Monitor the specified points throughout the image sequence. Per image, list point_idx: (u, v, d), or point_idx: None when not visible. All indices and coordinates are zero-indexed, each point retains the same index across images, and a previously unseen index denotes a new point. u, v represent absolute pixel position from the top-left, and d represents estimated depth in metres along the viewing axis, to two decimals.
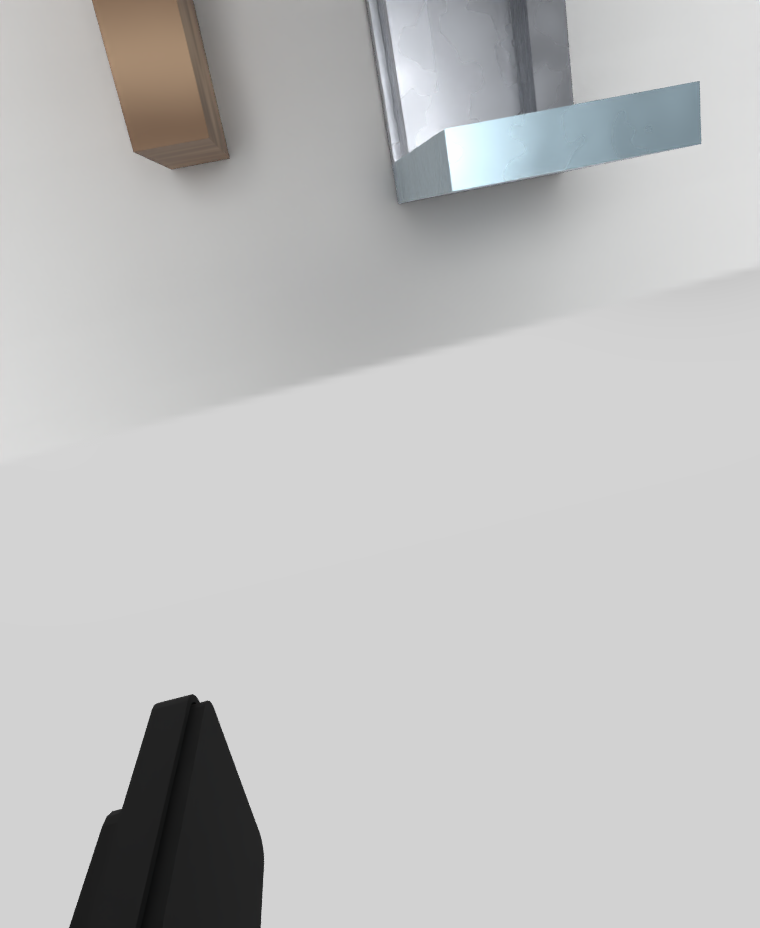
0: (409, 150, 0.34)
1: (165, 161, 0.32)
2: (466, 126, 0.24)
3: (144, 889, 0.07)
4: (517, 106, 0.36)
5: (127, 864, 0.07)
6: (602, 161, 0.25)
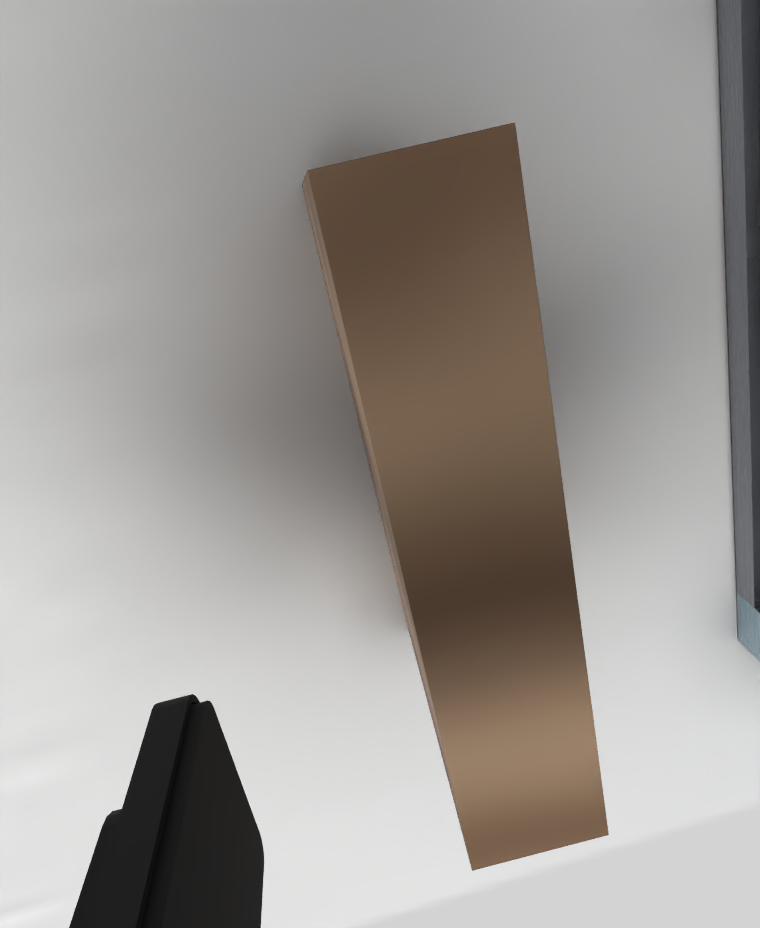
0: None
1: None
2: None
3: (145, 888, 0.07)
4: None
5: (127, 864, 0.07)
6: None
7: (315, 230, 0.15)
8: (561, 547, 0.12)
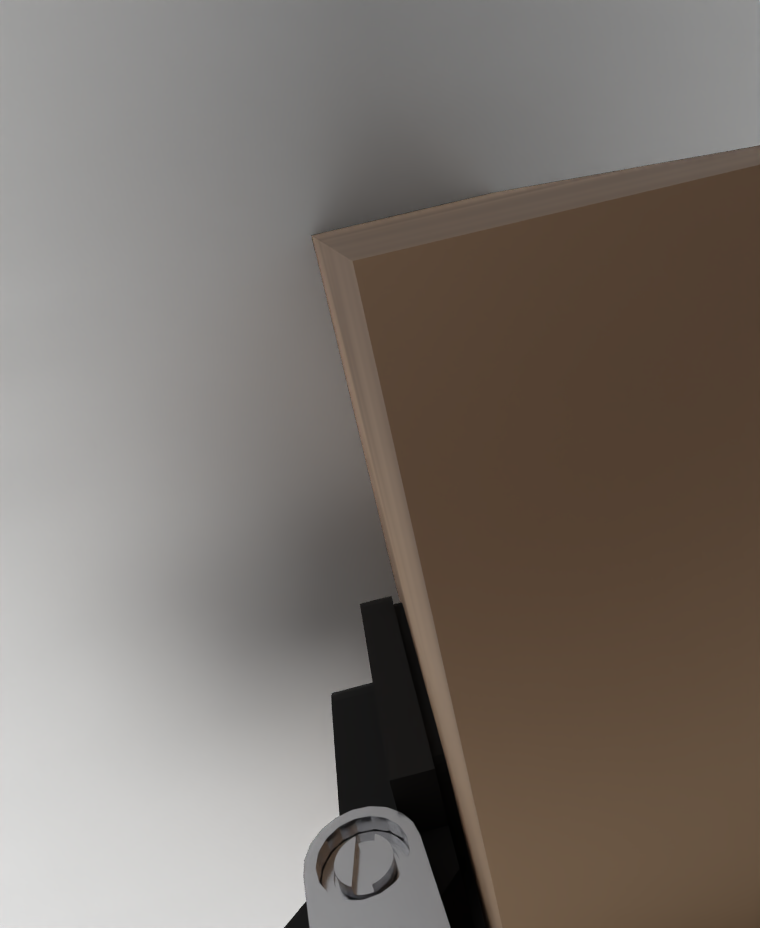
0: None
1: None
2: None
3: (423, 723, 0.08)
4: None
5: (398, 709, 0.08)
6: None
7: (339, 331, 0.08)
8: None
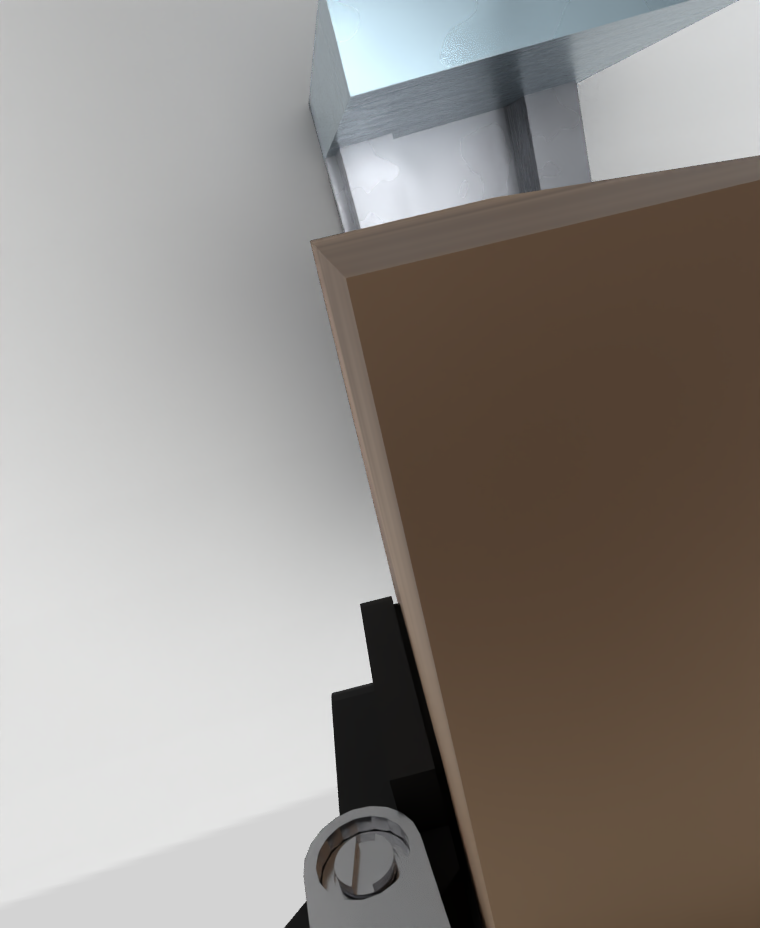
0: None
1: None
2: None
3: (423, 723, 0.08)
4: None
5: (398, 709, 0.08)
6: None
7: (337, 338, 0.08)
8: None
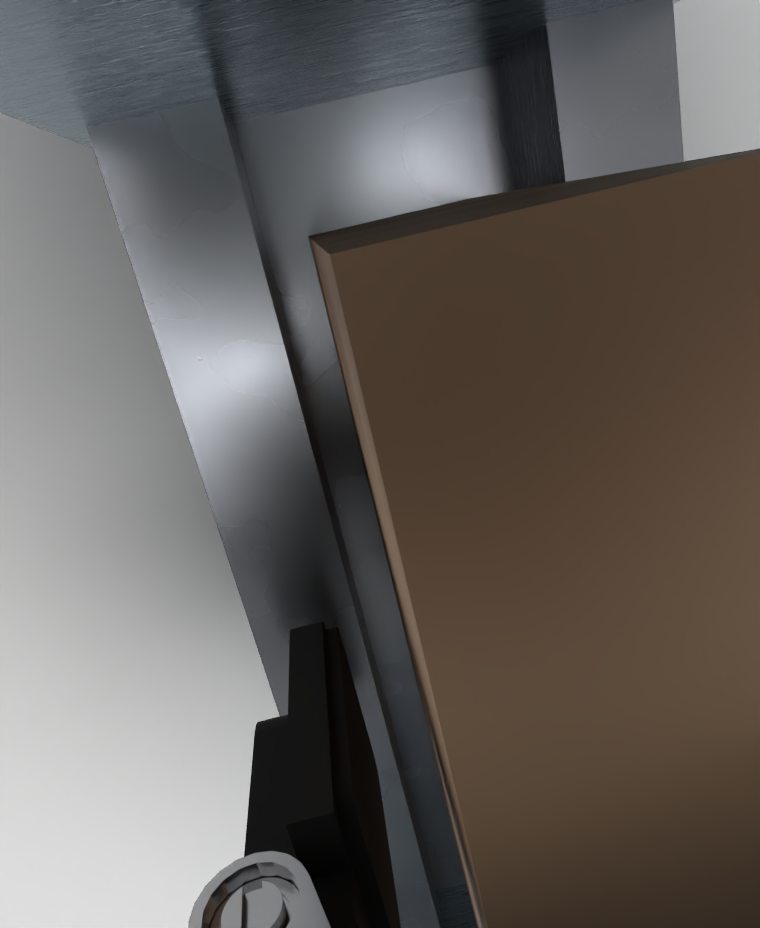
0: None
1: None
2: None
3: (329, 762, 0.08)
4: None
5: (308, 745, 0.08)
6: None
7: (331, 318, 0.09)
8: None
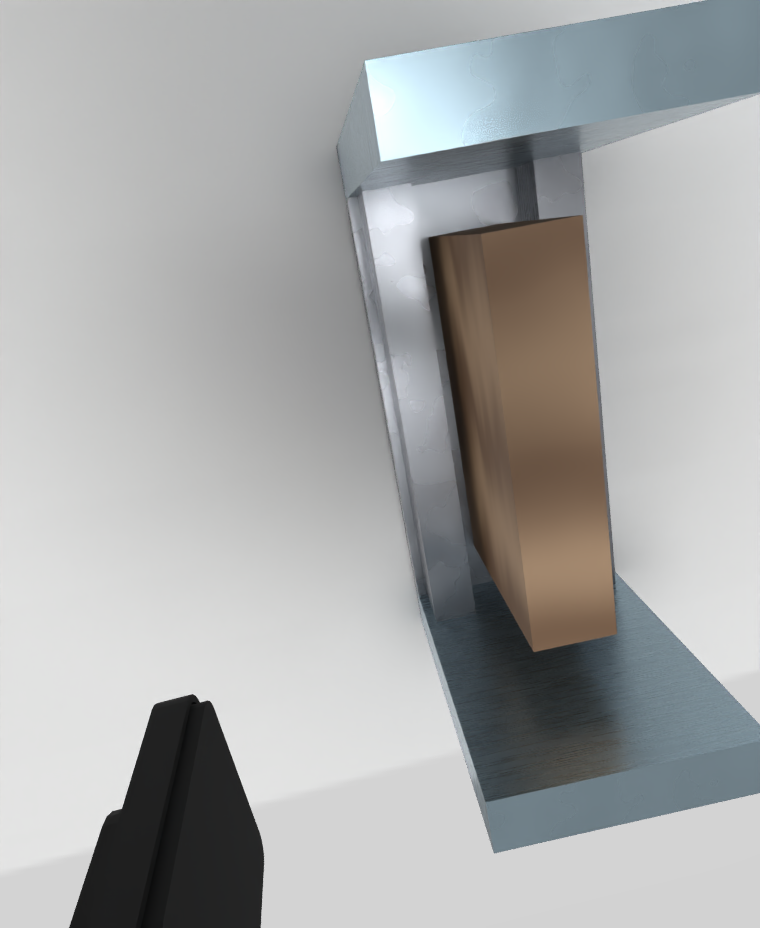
0: (436, 616, 0.31)
1: None
2: (510, 799, 0.21)
3: (146, 888, 0.07)
4: None
5: (127, 864, 0.07)
6: (661, 813, 0.22)
7: (451, 264, 0.25)
8: (596, 442, 0.22)
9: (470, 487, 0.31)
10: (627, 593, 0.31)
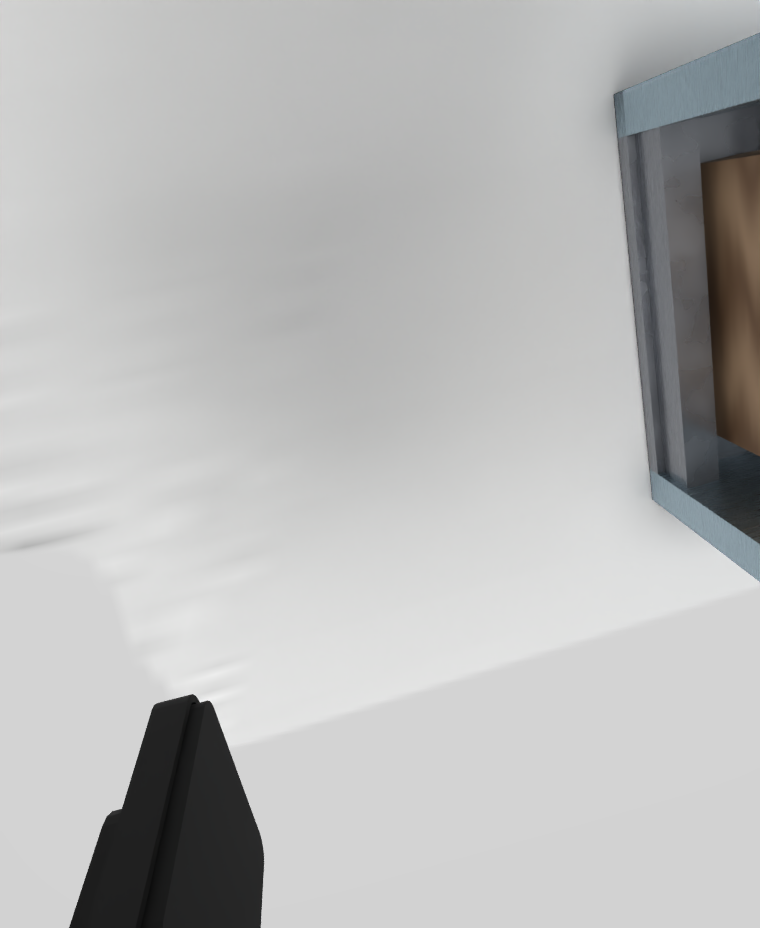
0: (687, 483, 0.38)
1: None
2: None
3: (145, 889, 0.07)
4: None
5: (127, 864, 0.07)
6: None
7: (735, 182, 0.32)
8: None
9: (714, 375, 0.37)
10: None
